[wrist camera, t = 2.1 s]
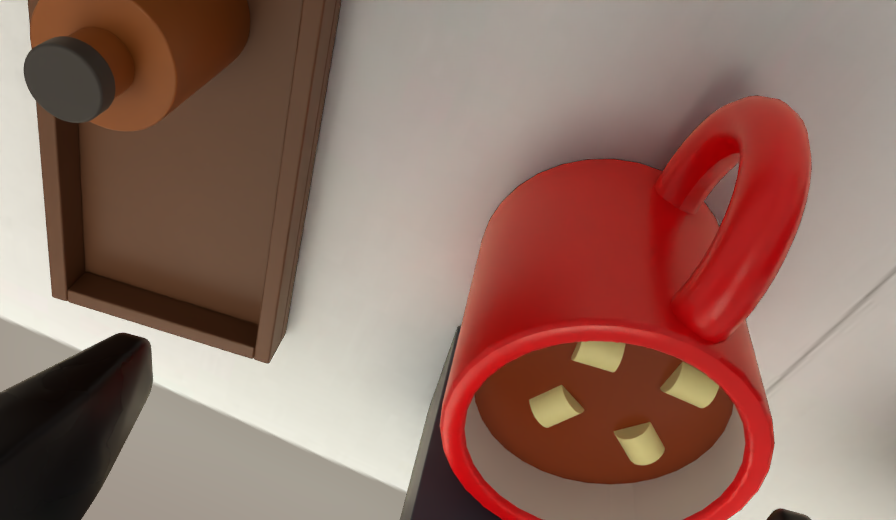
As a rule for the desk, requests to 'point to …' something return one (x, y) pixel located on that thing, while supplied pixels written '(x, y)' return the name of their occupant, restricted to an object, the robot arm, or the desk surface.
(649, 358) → the mug
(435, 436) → the stand
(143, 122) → the amber bottle middle
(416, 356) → the desk surface
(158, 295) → the tray
